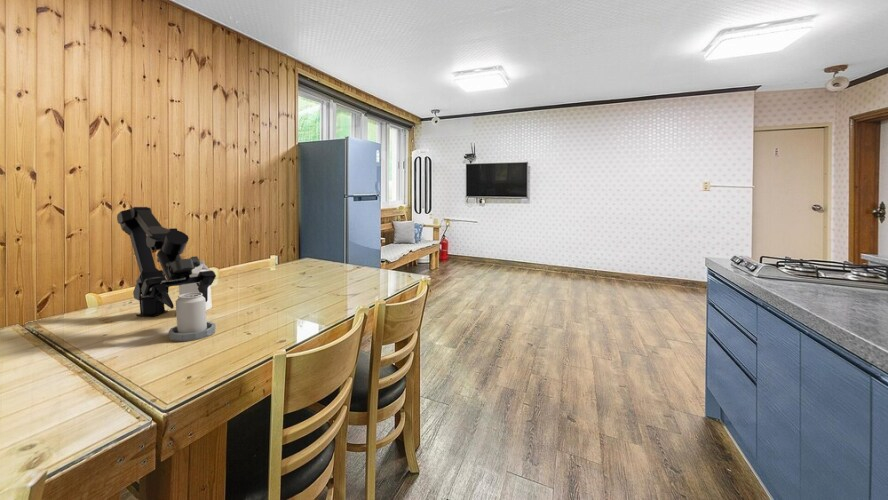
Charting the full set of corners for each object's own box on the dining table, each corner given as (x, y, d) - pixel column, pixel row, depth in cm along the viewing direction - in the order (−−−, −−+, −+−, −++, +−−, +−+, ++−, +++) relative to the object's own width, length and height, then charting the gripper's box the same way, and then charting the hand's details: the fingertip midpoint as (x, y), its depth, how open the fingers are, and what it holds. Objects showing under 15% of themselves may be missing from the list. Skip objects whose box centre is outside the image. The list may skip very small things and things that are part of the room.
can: (202, 335, 111) (200, 297, 109) (173, 337, 109) (170, 298, 107) (210, 327, 118) (208, 290, 116) (183, 328, 116) (181, 291, 114)
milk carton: (192, 308, 139) (189, 258, 136) (212, 308, 139) (209, 259, 137) (180, 314, 132) (177, 262, 129) (201, 314, 132) (198, 262, 130)
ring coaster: (159, 339, 108) (159, 333, 108) (190, 326, 120) (189, 320, 119) (196, 342, 107) (195, 335, 107) (223, 328, 118) (223, 322, 118)
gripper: (141, 251, 105) (160, 295, 101) (211, 246, 121) (230, 284, 116) (133, 274, 111) (150, 317, 106) (201, 266, 126) (219, 303, 122)
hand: (190, 304), depth 112 cm, fingers open, 9 cm apart
